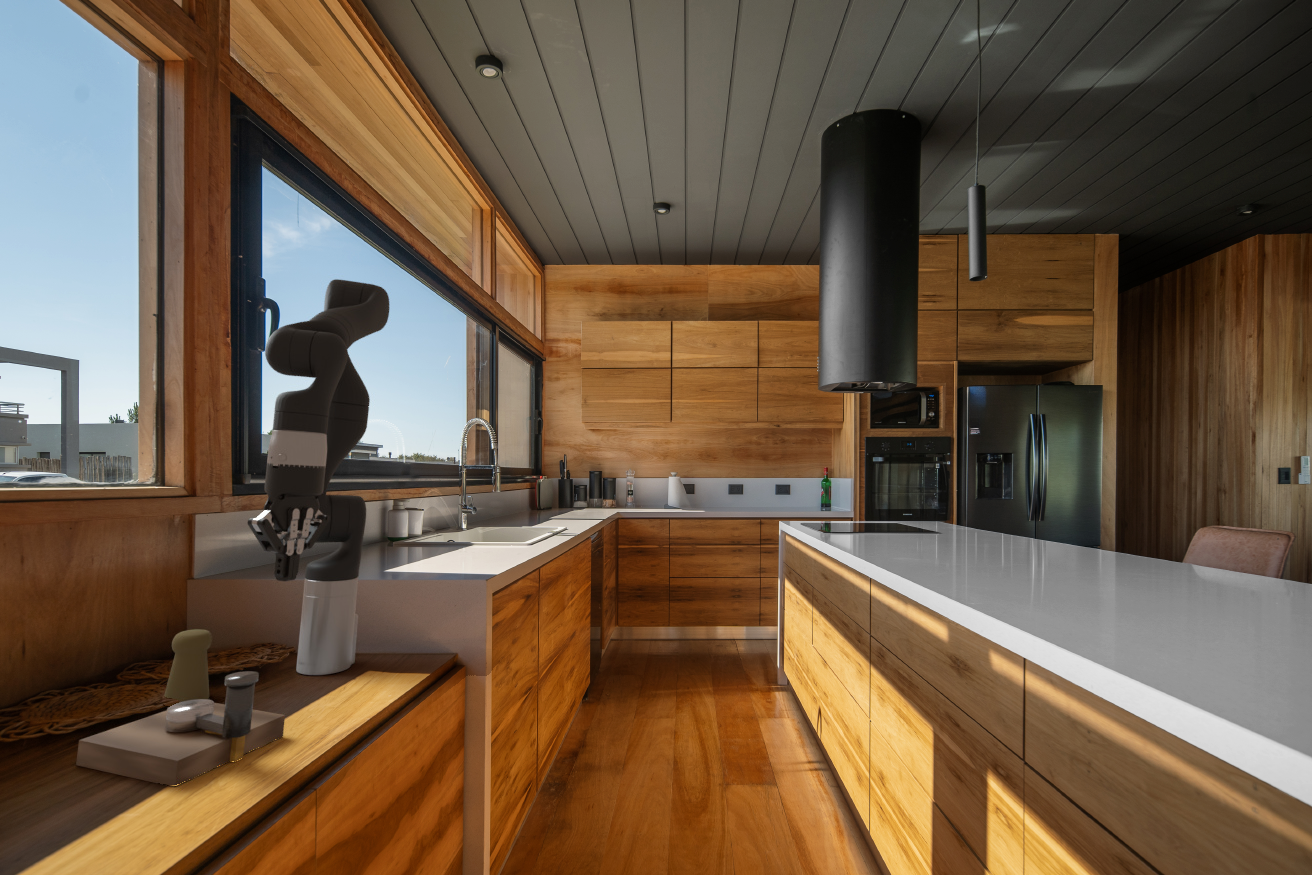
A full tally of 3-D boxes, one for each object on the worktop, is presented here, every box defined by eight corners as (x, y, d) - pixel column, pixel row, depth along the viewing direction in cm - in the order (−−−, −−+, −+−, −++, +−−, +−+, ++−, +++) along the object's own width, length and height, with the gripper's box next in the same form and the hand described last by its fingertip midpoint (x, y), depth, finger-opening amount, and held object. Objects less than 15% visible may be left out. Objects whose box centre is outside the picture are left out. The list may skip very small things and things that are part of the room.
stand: (195, 720, 89) (197, 698, 89) (287, 737, 84) (289, 714, 85) (76, 764, 74) (79, 738, 74) (179, 788, 70) (182, 759, 70)
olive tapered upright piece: (183, 709, 93) (190, 636, 93) (151, 704, 94) (159, 633, 95) (218, 695, 98) (225, 628, 99) (188, 691, 100) (196, 624, 101)
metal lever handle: (155, 727, 78) (162, 667, 79) (196, 714, 83) (202, 657, 83) (225, 747, 74) (232, 683, 74) (264, 732, 78) (270, 672, 79)
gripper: (311, 463, 96) (301, 571, 95) (236, 459, 83) (222, 584, 82) (351, 465, 94) (340, 576, 93) (280, 462, 81) (267, 590, 80)
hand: (285, 580), depth 88 cm, fingers closed
